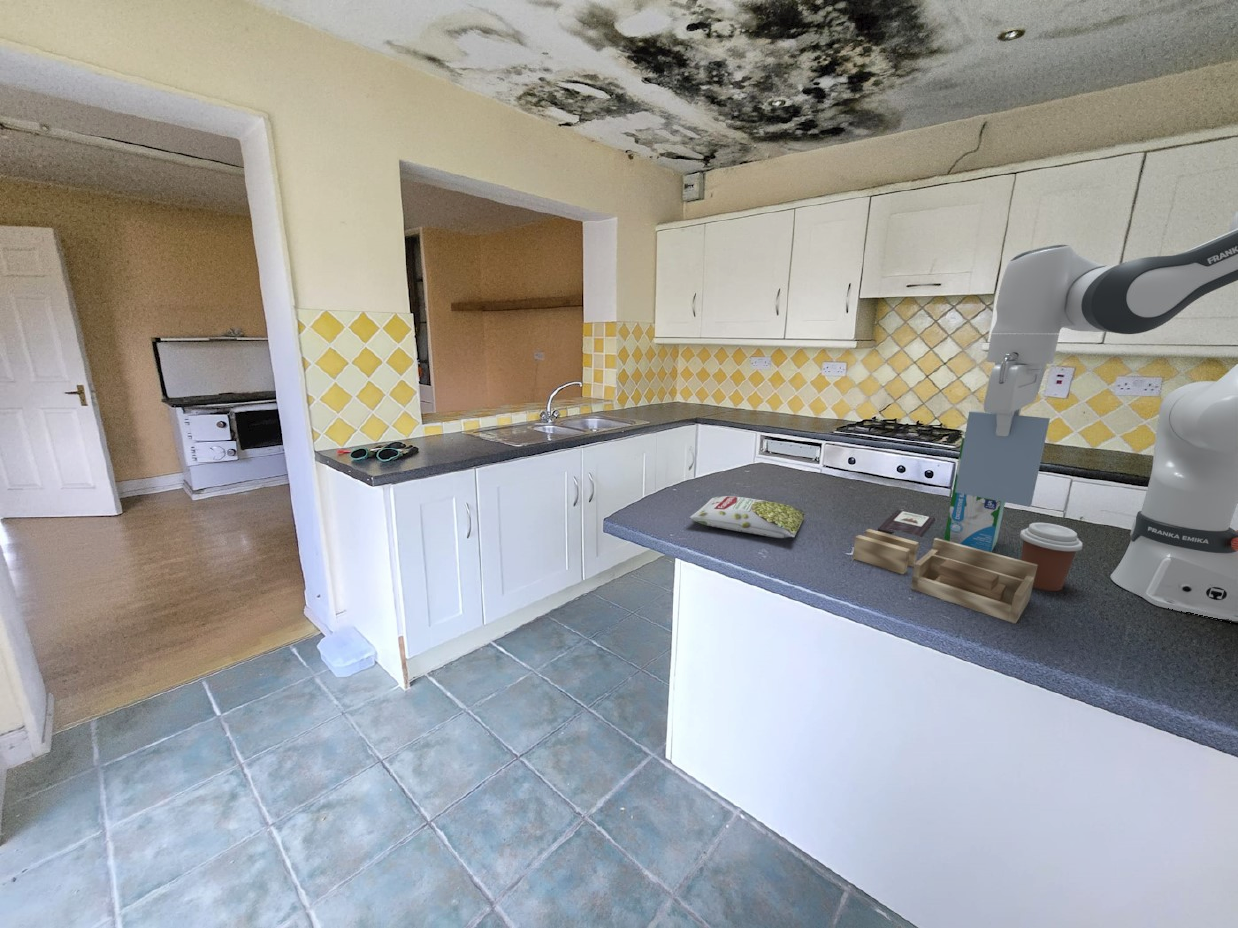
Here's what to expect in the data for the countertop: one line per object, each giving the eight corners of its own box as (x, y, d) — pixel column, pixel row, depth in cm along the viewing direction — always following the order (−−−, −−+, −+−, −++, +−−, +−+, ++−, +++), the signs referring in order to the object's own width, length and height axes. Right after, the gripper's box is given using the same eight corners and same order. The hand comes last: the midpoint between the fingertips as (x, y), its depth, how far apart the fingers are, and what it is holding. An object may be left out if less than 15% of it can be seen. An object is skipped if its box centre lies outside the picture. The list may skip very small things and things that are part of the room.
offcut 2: (1003, 594, 89) (1005, 585, 89) (999, 602, 87) (1001, 593, 86) (945, 577, 96) (946, 568, 95) (939, 584, 93) (940, 575, 92)
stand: (914, 568, 105) (919, 542, 104) (902, 578, 101) (906, 551, 99) (865, 553, 113) (868, 528, 111) (851, 562, 108) (855, 537, 106)
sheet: (1031, 504, 87) (1050, 418, 83) (1029, 506, 86) (1048, 419, 82) (957, 490, 95) (971, 410, 91) (955, 492, 94) (969, 411, 90)
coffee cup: (1006, 572, 104) (1018, 517, 101) (1064, 583, 99) (1078, 525, 96) (1013, 591, 96) (1026, 532, 93) (1075, 604, 92) (1091, 542, 89)
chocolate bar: (877, 528, 125) (897, 510, 138) (877, 532, 125) (896, 513, 138) (918, 538, 119) (935, 518, 132) (918, 542, 120) (934, 521, 133)
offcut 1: (997, 583, 90) (999, 574, 89) (990, 590, 87) (992, 581, 87) (946, 567, 95) (948, 558, 95) (938, 574, 93) (940, 565, 93)
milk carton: (996, 542, 119) (1018, 437, 112) (990, 554, 112) (1013, 443, 106) (951, 532, 125) (970, 431, 118) (943, 542, 118) (962, 437, 112)
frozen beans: (795, 524, 113) (688, 507, 124) (793, 549, 114) (687, 529, 125) (807, 500, 131) (713, 487, 142) (805, 522, 132) (712, 507, 143)
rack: (1028, 605, 91) (1037, 564, 89) (1014, 628, 84) (1024, 585, 82) (929, 574, 103) (935, 537, 101) (909, 593, 95) (916, 553, 93)
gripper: (1031, 354, 75) (1013, 446, 79) (1055, 351, 88) (1039, 429, 92) (981, 353, 80) (965, 440, 83) (1011, 350, 93) (997, 424, 96)
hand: (1004, 434), depth 88 cm, fingers closed on sheet, 1 cm apart
